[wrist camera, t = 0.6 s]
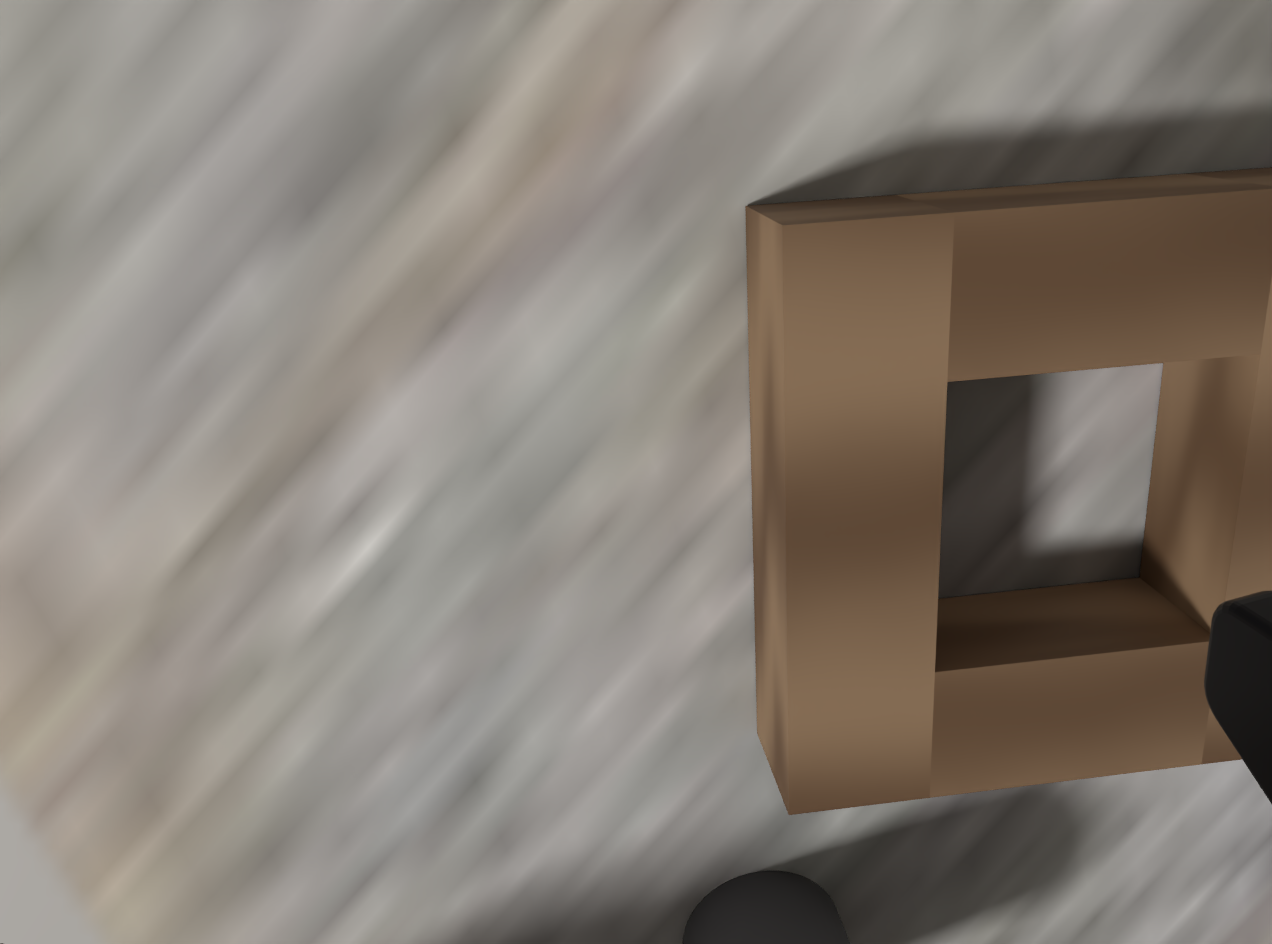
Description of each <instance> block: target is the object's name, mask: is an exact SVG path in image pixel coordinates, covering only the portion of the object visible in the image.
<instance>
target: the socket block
mask: <svg viewBox="0 0 1272 944" xmlns="http://www.w3.org/2000/svg"><path fill="white" fill-rule="evenodd" d="M746 249H747V294H748V339H749V384H750V429H751V473H752V518H753V563H754V608H755V653H756V697H757V734H758V736H759V739H760V742H761V744H762V747H763V749H764V752H765V755H766V757H767V760H768V762H769V765H770V767H771V770H772V773H773V775H774V778H775V780H776V783H777V785H778V788H779V791H780V793H781V796H782V798H783V801H784V804H785V806H786V809H787V811H788V814H789V815H793V814H801V813H809V812H817V811H825V810H833V809H842V808H850V807H858V806H866V805H874V804H882V803H890V802H898V801H907V800H915V799H923V798H931V797H939V796H947V795H955V794H963V793H972V792H980V791H988V790H996V789H1004V788H1012V787H1020V786H1029V785H1037V784H1045V783H1053V782H1061V781H1069V780H1077V779H1085V778H1094V777H1102V776H1110V775H1118V774H1126V773H1134V772H1142V771H1150V770H1159V769H1167V768H1175V767H1183V766H1191V765H1199V764H1207V763H1215V762H1224V761H1232V760H1240V759H1242V758H1241V756H1240V755H1239V753H1238V752H1237V750H1236V749H1235V747H1234V746H1233V744H1232V743H1231V741H1230V739H1229V738H1228V736H1227V735H1226V733H1225V732H1224V730H1223V729H1222V727H1221V726H1220V724H1219V723H1218V721H1217V720H1216V718H1215V716H1214V715H1213V713H1212V711H1211V709H1210V707H1209V704H1208V702H1207V698H1206V695H1205V689H1204V676H1205V668H1206V660H1207V652H1208V644H1209V637H1210V629H1211V621H1212V616H1213V613H1214V612H1215V610H1216V609H1217V607H1218V606H1219V605H1220V604H1221V603H1223V602H1225V601H1228V600H1232V599H1235V598H1239V597H1243V596H1246V595H1250V594H1253V593H1257V592H1261V591H1270V590H1271V591H1272V167H1270V168H1256V169H1242V170H1229V171H1215V172H1201V173H1188V174H1174V175H1160V176H1147V177H1133V178H1119V179H1106V180H1092V181H1078V182H1065V183H1051V184H1037V185H1023V186H1010V187H996V188H982V189H969V190H955V191H941V192H928V193H914V194H900V195H887V196H873V197H859V198H846V199H832V200H818V201H805V202H791V203H777V204H764V205H750V206H746ZM1155 363H1163V372H1162V381H1161V390H1160V399H1159V407H1158V416H1157V425H1156V434H1155V443H1154V452H1153V461H1152V469H1151V478H1150V487H1149V496H1148V505H1147V514H1146V522H1145V531H1144V540H1143V549H1142V558H1141V567H1140V576H1139V577H1138V578H1128V579H1119V580H1110V581H1100V582H1091V583H1082V584H1072V585H1063V586H1053V587H1044V588H1035V589H1025V590H1016V591H1007V592H997V593H988V594H978V595H969V596H960V597H950V598H941V599H938V589H939V565H940V542H941V519H942V495H943V472H944V448H945V425H946V402H947V382H953V381H964V380H975V379H986V378H998V377H1009V376H1020V375H1031V374H1043V373H1054V372H1065V371H1076V370H1088V369H1099V368H1110V367H1121V366H1133V365H1144V364H1155Z"/></svg>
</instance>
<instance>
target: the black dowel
mask: <svg viewBox="0 0 1272 944" xmlns="http://www.w3.org/2000/svg"><path fill="white" fill-rule="evenodd" d="M683 944H850V942H849V940H848V937H847V935H846V932H845V930H844V927H843V925H842V922H841V920H840V917H839V915H838V912H837V910H836V907H835V905H834V903H833V901H832V899H831V898H830V896H829V895H828V894H827V893H826V892H825V891H824V889H822V888H821V887H820V886H819V885H817V884H816V883H814V882H813V881H811V880H809V879H807V878H805V877H803V876H800V875H797V874H793V873H789V872H782V871H762V872H756V873H750V874H746V875H743V876H740V877H737V878H735V879H732V880H730V881H728V882H726V883H724V884H722V885H720V886H719V887H717V888H716V889H715V890H713V891H712V892H711V893H709V894H708V895H707V896H706V897H705V898H704V899H703V900H702V901H701V902H700V903H699V904H698V905H697V907H696V908H695V910H694V911H693V912H692V914H691V916H690V918H689V920H688V922H687V925H686V928H685V931H684V936H683Z"/></svg>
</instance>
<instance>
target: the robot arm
mask: <svg viewBox="0 0 1272 944" xmlns="http://www.w3.org/2000/svg"><path fill="white" fill-rule="evenodd" d="M1204 689H1205V695H1206V698H1207V702H1208V704H1209V707H1210V709H1211V711H1212V713H1213V715H1214V716H1215V718H1216V720H1217V721H1218V723H1219V724H1220V726H1221V727H1222V729H1223V730H1224V732H1225V733H1226V735H1227V736H1228V738H1229V739H1230V741H1231V743H1232V744H1233V746H1234V747H1235V749H1236V750H1237V752H1238V753H1239V755H1240V756H1241V758H1242V759H1243V761H1244V762H1245V764H1246V765H1247V767H1248V768H1249V770H1250V772H1251V773H1252V775H1253V776H1254V778H1255V779H1256V781H1257V782H1258V784H1259V785H1260V787H1261V788H1262V790H1263V791H1264V793H1265V794H1266V796H1267V798H1268V799H1269V801H1270V802H1271V804H1272V591H1271V590H1270V591H1261V592H1257V593H1253V594H1250V595H1246V596H1243V597H1239V598H1235V599H1232V600H1228V601H1225V602H1223V603H1221V604H1220V605H1219V606H1218V607H1217V609H1216V610H1215V612H1214V613H1213V616H1212V621H1211V629H1210V637H1209V644H1208V652H1207V660H1206V668H1205V676H1204ZM1 944H3V943H1Z"/></svg>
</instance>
